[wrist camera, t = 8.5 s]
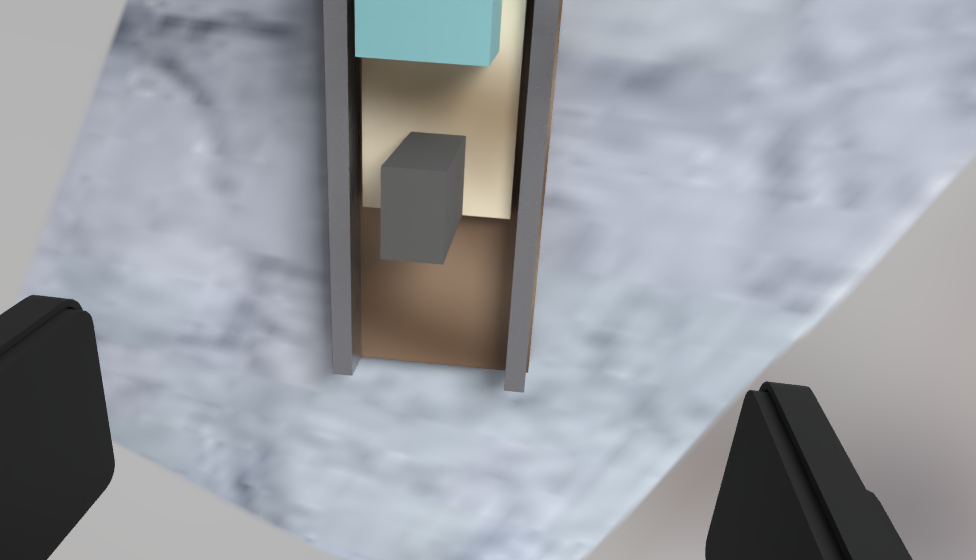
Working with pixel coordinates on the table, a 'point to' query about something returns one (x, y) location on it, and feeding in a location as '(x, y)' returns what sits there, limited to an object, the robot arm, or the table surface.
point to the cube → (429, 30)
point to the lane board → (474, 249)
